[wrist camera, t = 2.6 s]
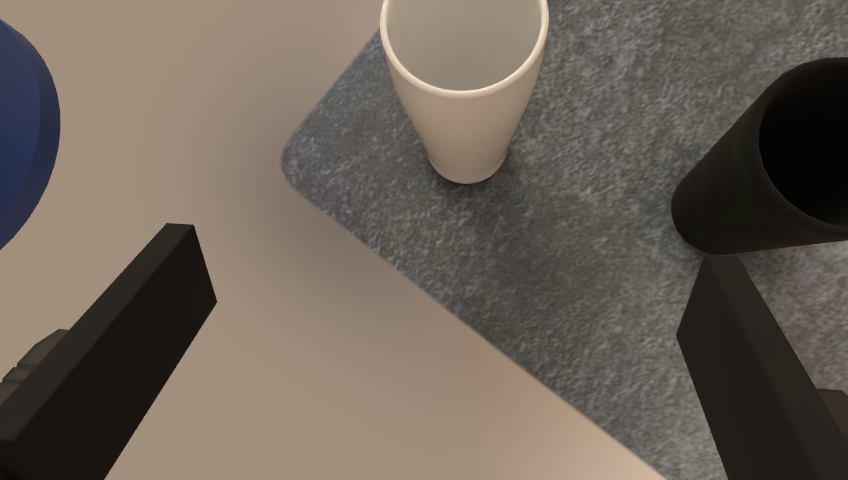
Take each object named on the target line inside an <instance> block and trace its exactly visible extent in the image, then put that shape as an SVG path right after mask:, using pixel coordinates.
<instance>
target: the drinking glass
mask: <svg viewBox="0 0 848 480" xmlns="http://www.w3.org/2000/svg"><path fill="white" fill-rule="evenodd" d="M548 25H549V11H548V4H547V0H384V2H383V6H382V10H381V17H380V34H381V39H382V44H383V48H384V53H385V58H386V62H387V66H388V70H389V73H390V76H391V80H392V83H393V86H394V88H395V91H396V93H397V96H398V98H399V100H400V102H401V104H402V106H403V108H404V110H405V112H406V114H407V116H408V118H409V119H410V121H411V123H412V125H413V127H414V129H415V131H416V132H417V134H418V136H419V138H420V140H421V142H422V144H423V146H424V148H425V150H426V153H427V157H428V159H429V161H430V163H431V165H432V166H433V168H434V169H435V170H436V171H437V172H438V173H439V174H440V175H441V176H443V177H444V178H446V179H448V180H450V181H452V182H456V183H461V184H472V183H477V182H481V181H483V180H485V179H487V178H489V177H490V176H492V175H493V174H494V173H495V172H496V171H497V170H498V169H499V168H500V167H501V165H502V164H503V162H504V160H505V158H506V155H507V152H508V147H509V145H510V142H511V140H512V138H513V136H514V134H515V131H516V129H517V127H518V125H519V123H520V121H521V119H522V116H523V114H524V112H525V110H526V108H527V106H528V104H529V101H530V99H531V97H532V94H533V92H534V89H535V86H536V83H537V80H538V77H539V73H540V70H541V66H542V61H543V56H544V51H545V45H546V39H547V32H548Z"/></svg>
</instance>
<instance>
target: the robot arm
mask: <svg viewBox="0 0 848 480" xmlns="http://www.w3.org/2000/svg"><path fill="white" fill-rule="evenodd" d="M216 303H217V300H216V296H215V293H214V290H213V287H212V283H211V280H210V277H209V274H208V270H207V267H206V264H205V260H204V257H203V254H202V251H201V248H200V244H199V241H198V237H197V234H196V231H195V227H194V225H189V224H188V225H187V224H172V223H171V224H170V223H166V225H165V226H164V227H163V228H162V229H161V230H160V231H159V232H158V233H157V234H156V235H155V237H154V238H153V239H152V240H151V241H150V242H149V243H148V244H147V245H146V246H145V248H144V249H143V250H142V251H141V252H140V253H139V254H138V255H137V256H136V257H135V259H134V260H133V261H132V262H131V263H130V264H129V265H128V266H127V267H126V269H124V271H123V272H122V273H121V274H120V275H119V276H118V277H117V278H116V279H115V280H114V282H113V283H112V284H111V285H110V286H109V287H108V288H107V289H106V290H105V291H104V293H103V294H102V295H101V296H100V297H99V298H98V299H97V300H96V301H95V302H94V303H93V305H92V306H91V307H90V308H89V309H88V310H87V311H86V312H85V313H84V314H83V316H82V317H81V318H80V319H79V320H78V321H77V322H76V323H75V324H74V326H73V327H72V328H71V329H70V330H63V329H58V330H57V331H55V332H54V333H52V334H51V335H49V336H47V337H46V338H45V339H43V340H41V341H40V342H38V343H37V344H35V345H34V346H33V347H32V348H31V349H30V350H29V351H28V353H27V354H26V355H25V356H24V357H23V358H22V359H21V360H20V361H19V362H18V363H17V367H13V368H12V369H11V370H10V371H9V372H8V374H6V376H5V377H4V378H3V381H2V383H0V480H104V479H105V477H106V476H107V474H108V473H109V471H110V470H111V468H112V466H113V465H114V463H115V462H116V460H117V459H118V457H119V456H120V454H121V452H122V451H123V449H124V448H125V446H126V444H127V443H128V441H129V440H130V438H131V436H132V435H133V434H134V432H135V430H136V429H137V427H138V425H139V424H140V422H141V421H142V419H143V417H144V416H145V415H146V413H147V412H148V410H149V408H150V407H151V405H152V404H153V402H154V401H155V399H156V397H157V396H158V394H159V393H160V391H161V389H162V388H163V386H164V385H165V383H166V382H167V380H168V378H169V377H170V375H171V374H172V372H173V371H174V369H175V368H176V366H177V364H178V363H179V361H180V360H181V358H182V357H183V355H184V353H185V352H186V350H187V349H188V347H189V346H190V344H191V342H192V341H193V339H194V337H195V336H196V335H197V333H198V331H199V330H200V328H201V327H202V325H203V324H204V322H205V320H206V319H207V317H208V316H209V314H210V313H211V311H212V309H213V308H214V306H215V305H216ZM676 337H677V340H678V343H679V345H680V348H681V351H682V354H683V356H684V359H685V362H686V364H687V367H688V370H689V373H690V375H691V378H692V381H693V384H694V386H695V389H696V392H697V395H698V397H699V400H700V403H701V406H702V408H703V411H704V414H705V416H706V419H707V422H708V425H709V427H710V430H711V433H712V436H713V438H714V441H715V444H716V447H717V449H718V452H719V455H720V458H721V460H722V463H723V466H724V469H725V471H726V474H727V477H728V479H729V480H848V396H847V395H846V394H845V393H844V392H843V391H841V390H829V389H817V388H815V386H814V384H813V382H812V381H811V379H810V377H809V376H808V374H807V372H806V371H805V369H804V367H803V366H802V364H801V362H800V360H799V359H798V357H797V355H796V354H795V352H794V350H793V349H792V347H791V345H790V344H789V342H788V340H787V339H786V337H785V335H784V333H783V332H782V330H781V328H780V327H779V325H778V323H777V322H776V320H775V318H774V317H773V315H772V313H771V312H770V310H769V308H768V306H767V305H766V303H765V301H764V300H763V298H762V296H761V295H760V293H759V291H758V290H757V288H756V286H755V285H754V283H753V281H752V279H751V278H750V276H749V274H748V273H747V271H746V269H745V268H744V266H743V264H742V263H741V261H740V259H739V258H738V256H722V255H705V256H704V258H703V261H702V264H701V267H700V270H699V272H698V275H697V278H696V281H695V283H694V286H693V289H692V292H691V295H690V297H689V300H688V303H687V306H686V309H685V311H684V314H683V317H682V320H681V323H680V325H679V328H678V331H677V334H676Z"/></svg>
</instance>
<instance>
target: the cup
mask: <svg viewBox="0 0 848 480" xmlns="http://www.w3.org/2000/svg"><path fill="white" fill-rule="evenodd" d="M671 212H672V217H673V222H674V224H675V226H676V228H677V230H678V232H679V233H680V234H681V235H682V237H683V238H684V239H685V240H686V241H687V242H689V243H690V244H691V245H692V246H694V247H696V248H698V249H700V250H702V251H704V252H708V253H712V254H733V253H741V252H750V251H759V250H767V249H776V248H785V247H793V246H802V245H811V244H819V243H828V242H837V241H845V240H848V57H839V58H823V59H819V60H815V61H811V62H807V63H803V64H801V65H799V66H797V67H795V68H793V69H791V70H789V71H787V72H785V73H784V74H782V75H781V76H780V77H779V78H778V79H777V80H775V81H774V82H773V83H772V84H771V85H770V86H769V87H768V88H767V89H766V90H765V91H764V92H763V93H762V94H761V95H760V96H759V97H758V98H757V99H756V101H755V102H754V103H753V104H752V105H751V106H750V107H749V108H748V109H747V110H746V111H745V113H744V114H743V115H742V116H741V117H740V118H739V119H738V120H737V121H736V122H735V123H734V124H733V126H732V127H731V128H730V129H729V130H728V131H727V132H726V133H725V134H724V135H723V136H722V138H721V139H720V140H719V141H718V142H717V143H716V144H715V145H714V146H713V147H712V148H711V150H710V151H709V152H708V153H707V154H706V155H705V156H704V157H703V158H702V159H701V160H700V161H699V163H698V164H697V165H696V166H695V167H694V168H693V169H692V170H691V171H690V172H689V173H688V175H687V176H686V177H685V178H684V179H683V180H682V181H681V182H680V184H679V185H678V187H677V188H676V190H675V192H674V195H673V198H672V205H671Z"/></svg>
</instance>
